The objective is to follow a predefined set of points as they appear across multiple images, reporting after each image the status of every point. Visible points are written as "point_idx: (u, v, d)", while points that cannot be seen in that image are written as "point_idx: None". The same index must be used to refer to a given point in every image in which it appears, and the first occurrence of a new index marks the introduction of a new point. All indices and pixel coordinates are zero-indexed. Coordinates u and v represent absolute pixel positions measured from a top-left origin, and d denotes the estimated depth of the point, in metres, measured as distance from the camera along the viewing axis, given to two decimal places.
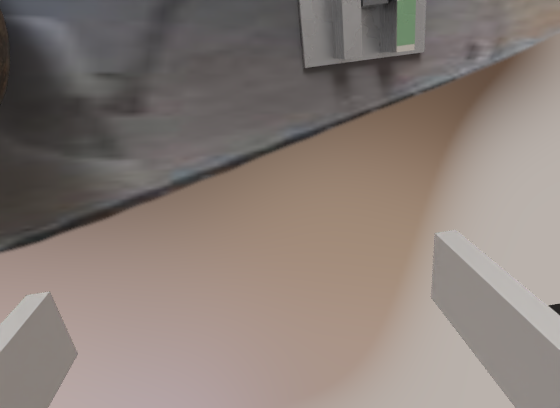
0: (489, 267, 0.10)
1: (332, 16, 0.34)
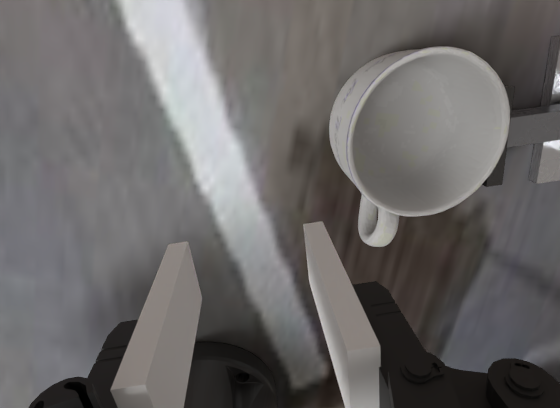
0: (327, 251, 0.12)
1: None
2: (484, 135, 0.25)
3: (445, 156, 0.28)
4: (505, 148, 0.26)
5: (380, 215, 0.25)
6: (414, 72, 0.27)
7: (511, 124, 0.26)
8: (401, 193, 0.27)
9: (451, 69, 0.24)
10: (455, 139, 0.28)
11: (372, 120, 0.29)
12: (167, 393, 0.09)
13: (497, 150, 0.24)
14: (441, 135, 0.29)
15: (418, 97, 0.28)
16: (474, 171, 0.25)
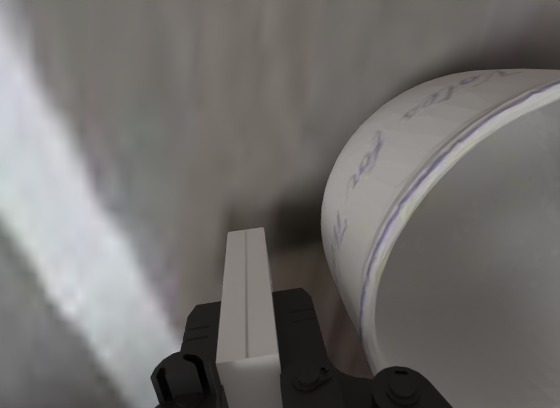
0: (258, 258, 0.12)
1: None
2: None
3: (541, 267, 0.15)
4: None
5: None
6: None
7: None
8: (460, 344, 0.14)
9: None
10: None
11: None
12: None
13: None
14: (529, 223, 0.16)
15: (491, 154, 0.15)
16: None
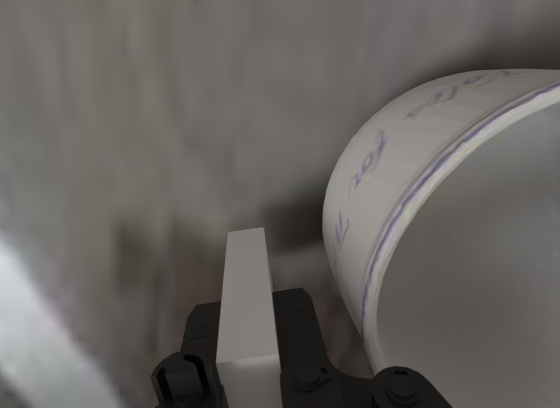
0: (258, 258, 0.12)
1: None
2: None
3: (543, 269, 0.15)
4: None
5: None
6: None
7: None
8: (461, 346, 0.14)
9: None
10: None
11: None
12: None
13: None
14: (531, 224, 0.15)
15: (493, 154, 0.15)
16: None
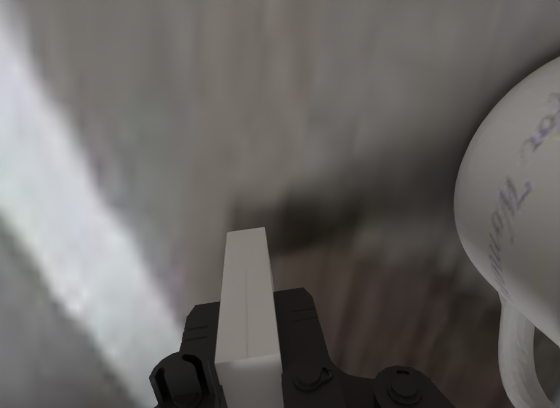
0: (259, 257, 0.12)
1: None
2: None
3: None
4: None
5: None
6: None
7: None
8: None
9: None
10: None
11: None
12: None
13: None
14: None
15: None
16: None
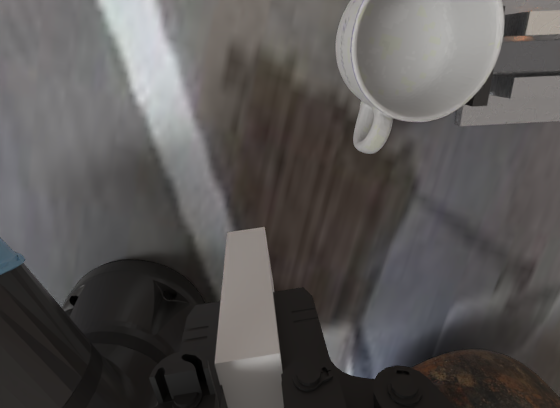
0: (259, 258, 0.12)
1: None
2: (479, 54, 0.27)
3: (441, 81, 0.30)
4: None
5: (375, 118, 0.27)
6: None
7: None
8: (397, 109, 0.29)
9: None
10: (452, 65, 0.30)
11: (377, 40, 0.30)
12: None
13: (489, 65, 0.26)
14: (439, 62, 0.31)
15: (422, 22, 0.30)
16: (466, 87, 0.27)
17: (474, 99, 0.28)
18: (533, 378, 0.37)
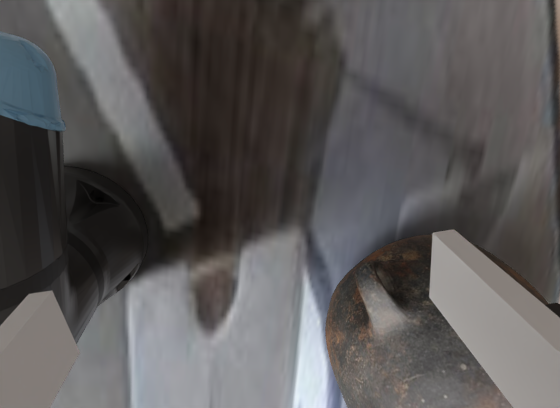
0: (486, 266, 0.10)
1: None
2: None
3: None
4: None
5: None
6: None
7: None
8: None
9: None
10: None
11: None
12: None
13: None
14: None
15: None
16: None
17: None
18: (483, 252, 0.35)
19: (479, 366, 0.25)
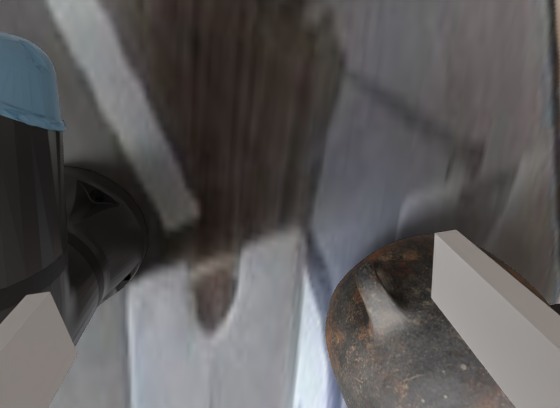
0: (489, 267, 0.10)
1: None
2: None
3: None
4: None
5: None
6: None
7: None
8: None
9: None
10: None
11: None
12: None
13: None
14: None
15: None
16: None
17: None
18: (484, 252, 0.35)
19: (479, 366, 0.25)
